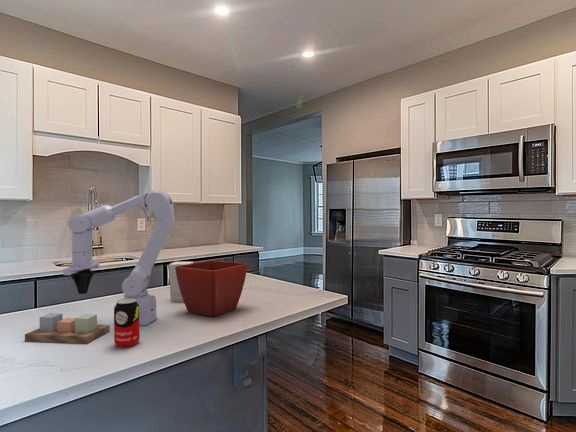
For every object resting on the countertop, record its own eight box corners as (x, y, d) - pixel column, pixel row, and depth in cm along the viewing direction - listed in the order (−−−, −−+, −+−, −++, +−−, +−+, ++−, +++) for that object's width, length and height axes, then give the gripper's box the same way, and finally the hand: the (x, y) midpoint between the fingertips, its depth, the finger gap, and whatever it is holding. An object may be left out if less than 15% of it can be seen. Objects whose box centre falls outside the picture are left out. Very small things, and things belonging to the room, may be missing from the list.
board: (109, 331, 108) (109, 325, 108) (87, 343, 98) (87, 336, 98) (52, 329, 110) (52, 323, 110) (24, 341, 100) (24, 334, 100)
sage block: (97, 329, 105) (96, 314, 105) (87, 334, 101) (87, 318, 101) (84, 328, 106) (84, 314, 106) (75, 333, 102) (74, 318, 102)
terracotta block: (79, 332, 106) (79, 318, 106) (70, 337, 102) (69, 322, 102) (67, 332, 106) (67, 317, 106) (57, 337, 102) (57, 321, 102)
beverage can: (111, 344, 98) (110, 300, 98) (134, 338, 102) (133, 296, 102) (119, 350, 94) (118, 305, 93) (143, 344, 98) (142, 300, 98)
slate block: (62, 328, 107) (62, 313, 107) (52, 332, 103) (52, 317, 103) (50, 327, 107) (50, 313, 107) (39, 332, 103) (39, 317, 103)
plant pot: (211, 301, 143) (210, 259, 143) (249, 308, 134) (248, 263, 133) (173, 313, 127) (173, 266, 127) (214, 321, 117) (213, 270, 117)
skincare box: (195, 298, 148) (194, 261, 148) (189, 302, 141) (188, 263, 141) (175, 298, 149) (175, 261, 149) (169, 302, 142) (168, 263, 142)
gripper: (85, 249, 123) (86, 288, 123) (53, 254, 108) (54, 298, 109) (105, 249, 122) (105, 288, 122) (75, 254, 108) (75, 299, 108)
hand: (82, 293), depth 115 cm, fingers closed
